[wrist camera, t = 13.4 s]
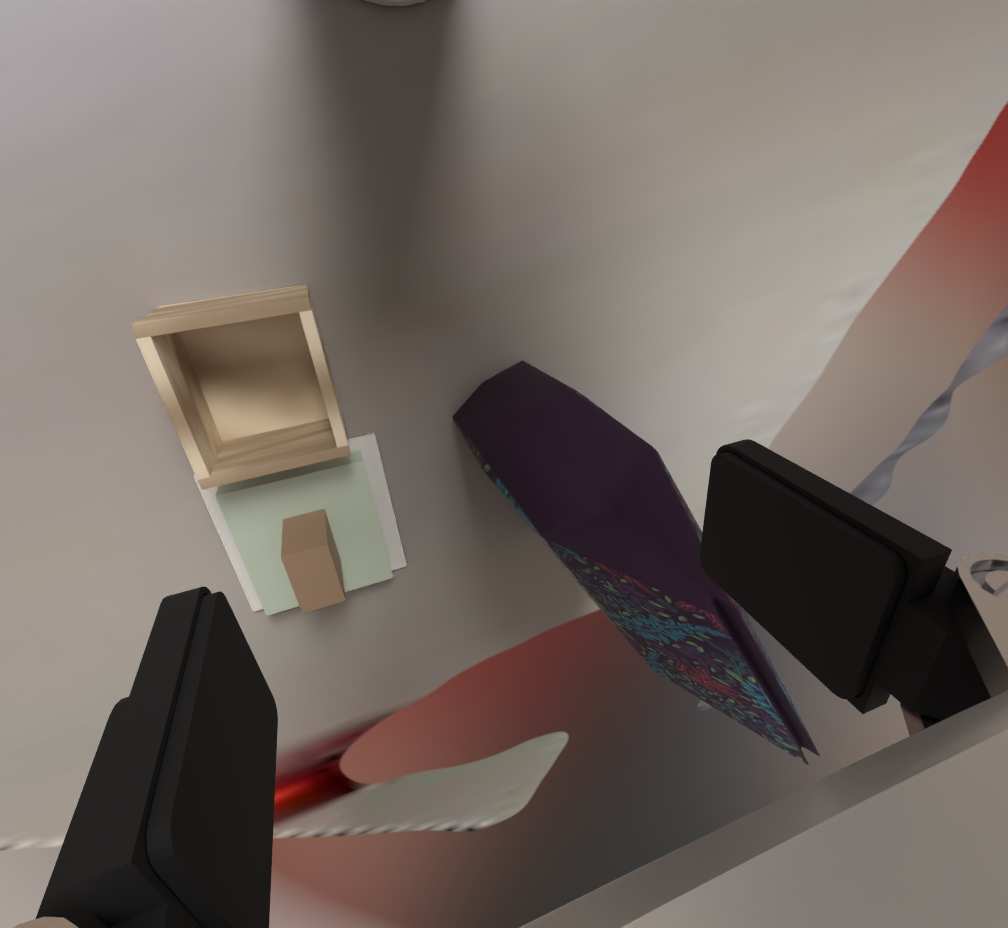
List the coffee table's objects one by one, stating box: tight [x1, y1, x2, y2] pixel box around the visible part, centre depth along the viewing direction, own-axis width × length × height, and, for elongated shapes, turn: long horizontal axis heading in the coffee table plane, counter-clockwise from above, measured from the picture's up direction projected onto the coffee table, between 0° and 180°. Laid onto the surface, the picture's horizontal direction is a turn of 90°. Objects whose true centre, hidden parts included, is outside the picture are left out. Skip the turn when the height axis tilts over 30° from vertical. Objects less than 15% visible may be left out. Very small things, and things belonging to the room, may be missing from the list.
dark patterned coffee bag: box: [453, 361, 820, 765], centre depth 34 cm, size 8×16×28 cm, turn 34°
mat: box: [193, 433, 407, 612], centre depth 42 cm, size 13×13×1 cm
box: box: [130, 284, 351, 490], centre depth 33 cm, size 10×9×6 cm
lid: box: [215, 449, 393, 616], centre depth 39 cm, size 11×10×7 cm
